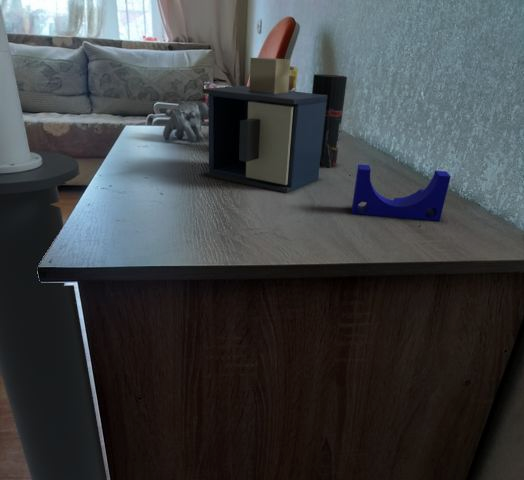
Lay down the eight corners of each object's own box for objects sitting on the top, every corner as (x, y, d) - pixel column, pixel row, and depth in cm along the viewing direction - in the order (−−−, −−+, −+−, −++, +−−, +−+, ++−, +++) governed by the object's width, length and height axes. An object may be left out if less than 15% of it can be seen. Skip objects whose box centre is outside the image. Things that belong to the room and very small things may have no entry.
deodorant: (337, 167, 93) (349, 77, 85) (306, 166, 93) (315, 75, 85) (333, 161, 98) (344, 75, 90) (304, 159, 98) (312, 73, 90)
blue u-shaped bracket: (433, 211, 72) (444, 168, 68) (439, 221, 68) (450, 176, 65) (351, 204, 72) (357, 162, 69) (352, 213, 69) (359, 169, 65)
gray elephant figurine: (160, 142, 105) (157, 102, 101) (173, 133, 115) (172, 97, 111) (202, 146, 104) (202, 106, 100) (212, 136, 114) (212, 100, 110)
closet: (286, 193, 76) (294, 99, 69) (203, 175, 83) (202, 88, 76) (318, 179, 84) (327, 95, 77) (240, 164, 91) (242, 85, 84)
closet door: (274, 189, 74) (279, 108, 68) (233, 181, 77) (235, 102, 71) (287, 184, 77) (293, 106, 71) (247, 176, 80) (250, 101, 74)
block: (274, 94, 74) (276, 59, 72) (249, 91, 76) (250, 57, 74) (288, 92, 78) (290, 59, 75) (263, 89, 80) (265, 57, 77)
